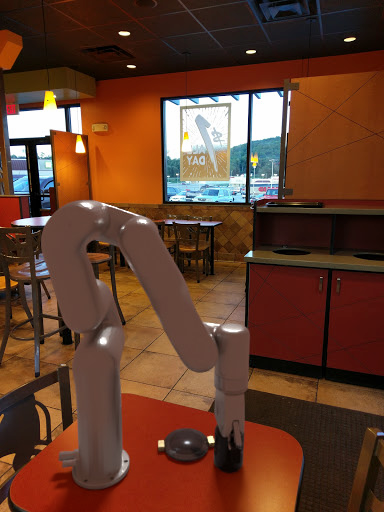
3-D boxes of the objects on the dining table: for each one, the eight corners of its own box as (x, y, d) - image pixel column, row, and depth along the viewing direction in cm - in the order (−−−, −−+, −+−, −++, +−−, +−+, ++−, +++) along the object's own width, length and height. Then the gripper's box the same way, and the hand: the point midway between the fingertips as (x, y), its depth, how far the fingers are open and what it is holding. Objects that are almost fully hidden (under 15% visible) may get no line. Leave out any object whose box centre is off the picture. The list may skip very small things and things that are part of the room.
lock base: (159, 464, 83) (159, 459, 83) (157, 433, 94) (157, 429, 93) (218, 459, 85) (218, 454, 85) (209, 429, 96) (209, 425, 95)
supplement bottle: (242, 476, 80) (244, 427, 78) (211, 471, 81) (212, 423, 79) (244, 455, 86) (245, 409, 84) (215, 450, 88) (216, 405, 86)
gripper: (207, 362, 88) (206, 428, 91) (223, 402, 71) (221, 481, 74) (237, 361, 89) (234, 426, 92) (259, 399, 72) (256, 478, 75)
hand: (228, 450), depth 83 cm, fingers open, 6 cm apart
